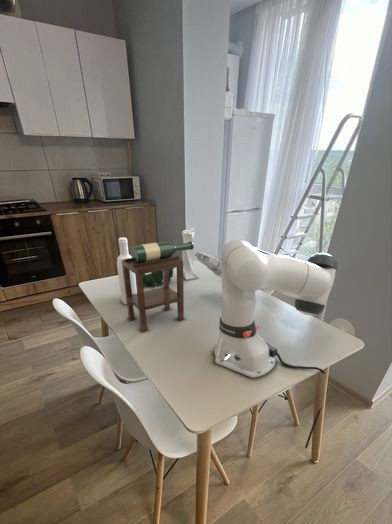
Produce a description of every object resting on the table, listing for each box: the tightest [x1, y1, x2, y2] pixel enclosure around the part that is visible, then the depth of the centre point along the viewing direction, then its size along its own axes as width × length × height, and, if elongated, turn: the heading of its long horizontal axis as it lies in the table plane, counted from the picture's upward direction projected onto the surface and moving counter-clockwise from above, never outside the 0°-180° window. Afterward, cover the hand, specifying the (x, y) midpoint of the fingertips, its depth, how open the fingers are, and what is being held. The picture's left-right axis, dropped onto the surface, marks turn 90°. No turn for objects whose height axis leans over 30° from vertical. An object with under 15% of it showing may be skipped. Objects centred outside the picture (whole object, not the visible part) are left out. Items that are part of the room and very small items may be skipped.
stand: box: [122, 255, 185, 333], centre depth 124 cm, size 14×20×27 cm
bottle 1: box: [116, 236, 137, 305], centre depth 138 cm, size 8×8×30 cm
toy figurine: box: [142, 268, 175, 288], centre depth 161 cm, size 9×19×25 cm
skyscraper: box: [181, 228, 198, 281], centre depth 167 cm, size 8×8×28 cm
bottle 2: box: [130, 240, 195, 264], centre depth 118 cm, size 6×26×6 cm, turn 125°
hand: (202, 256), depth 131 cm, fingers open, 8 cm apart
